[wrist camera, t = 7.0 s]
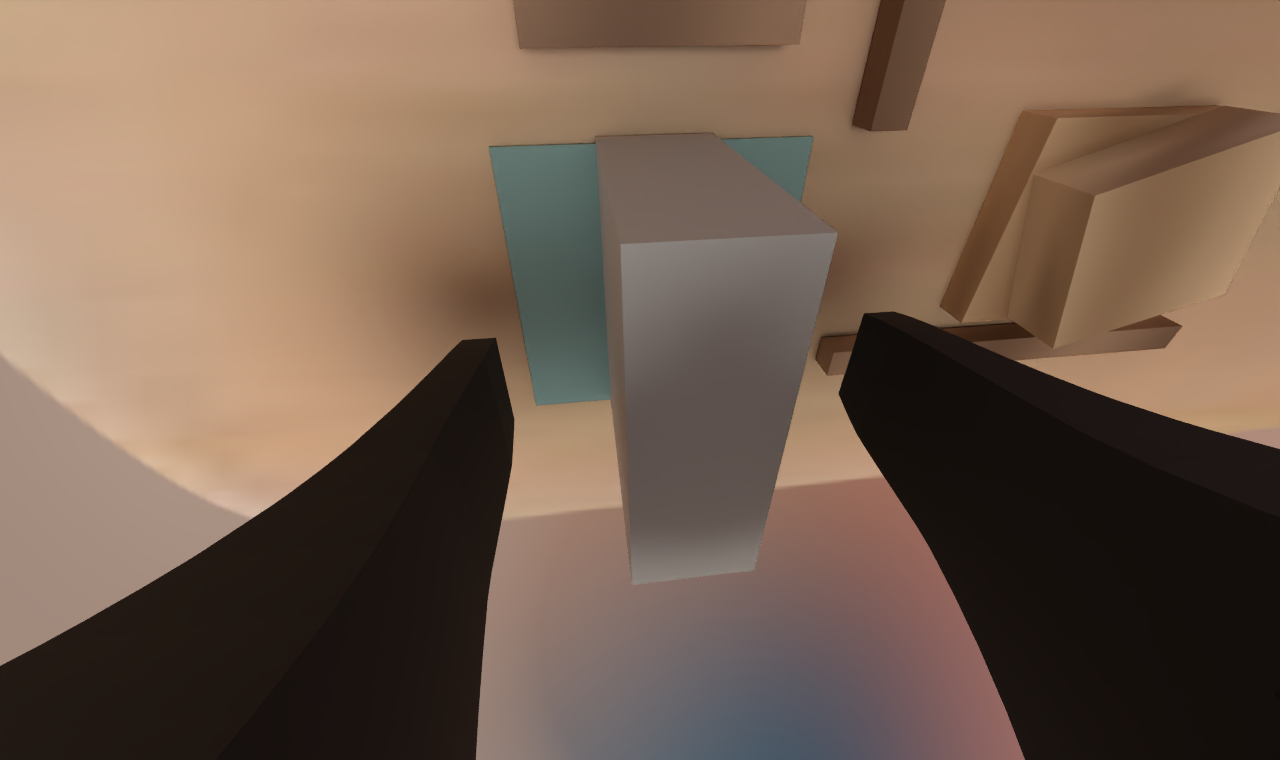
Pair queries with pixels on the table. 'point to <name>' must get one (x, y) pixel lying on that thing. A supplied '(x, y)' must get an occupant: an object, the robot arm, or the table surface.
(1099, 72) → the table surface
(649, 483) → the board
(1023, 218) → the offcut bottom
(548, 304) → the mat
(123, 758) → the robot arm
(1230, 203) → the offcut top
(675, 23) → the rack
